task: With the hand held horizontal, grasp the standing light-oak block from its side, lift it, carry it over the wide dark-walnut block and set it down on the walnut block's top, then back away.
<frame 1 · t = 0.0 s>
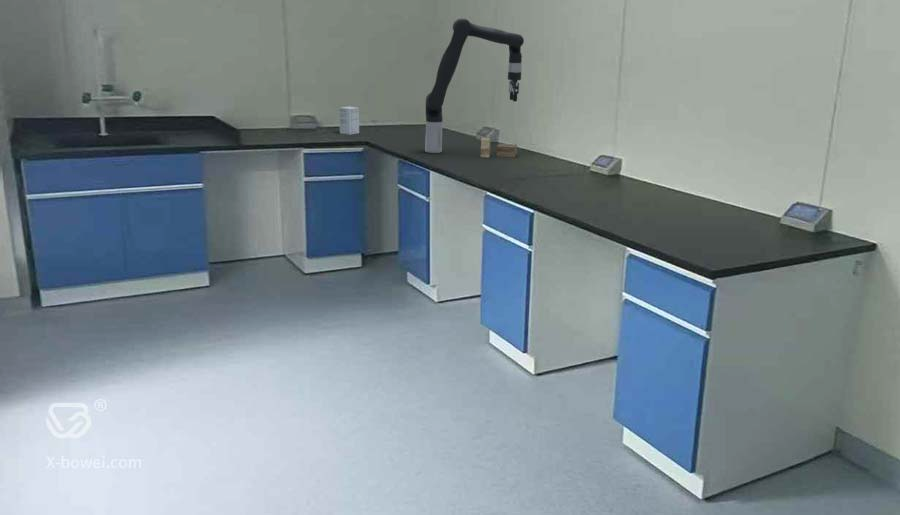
hand: (513, 100, 418), 29 cm above the counter, fingers open, 8 cm apart
oak block: (485, 156, 409), on the counter
walnut base: (506, 155, 415), on the counter
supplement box: (349, 133, 484), on the counter
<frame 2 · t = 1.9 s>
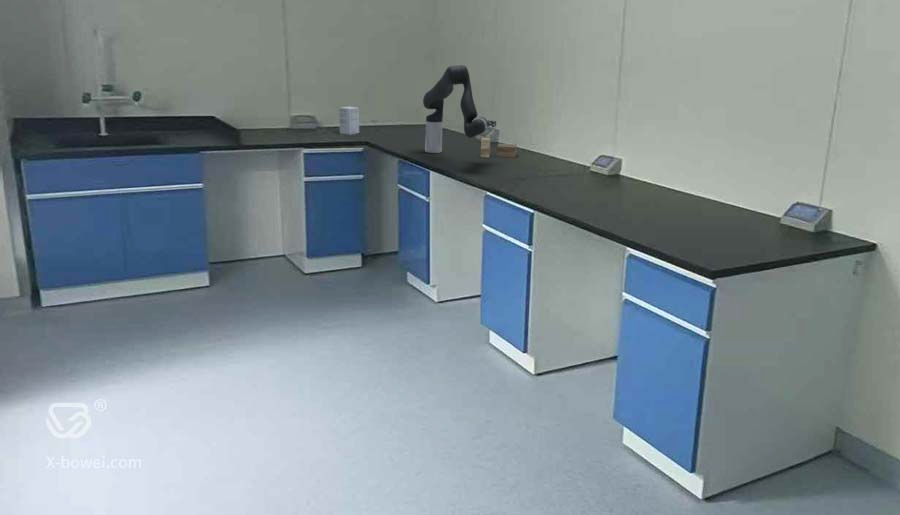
hand: (484, 122, 393), 20 cm above the counter, fingers open, 8 cm apart
nothing on the counter moved.
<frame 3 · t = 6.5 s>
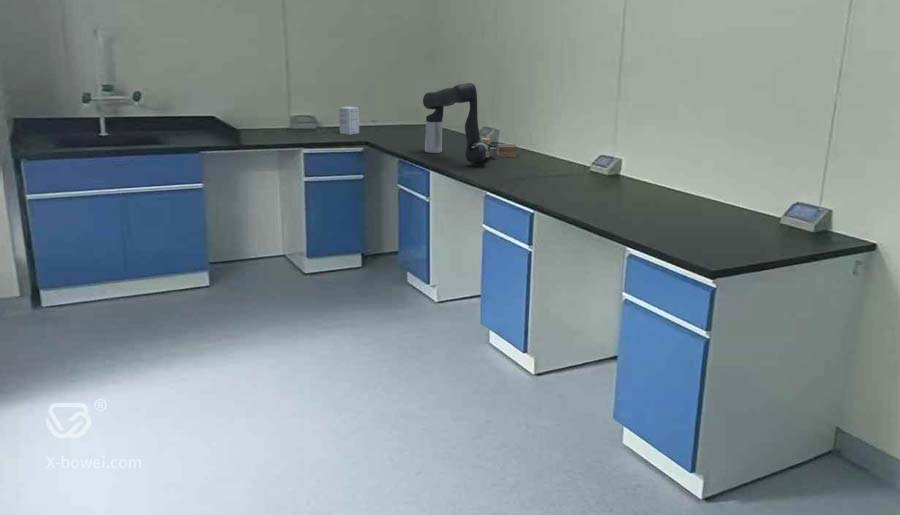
hand: (486, 145, 410), 6 cm above the counter, fingers closed on oak block, 4 cm apart
oak block: (485, 156, 409), on the counter, touching gripper
when the fingers open (14 cm above the counter, at t = 12.7 s): oak block drops 2 cm, resting on walnut base.
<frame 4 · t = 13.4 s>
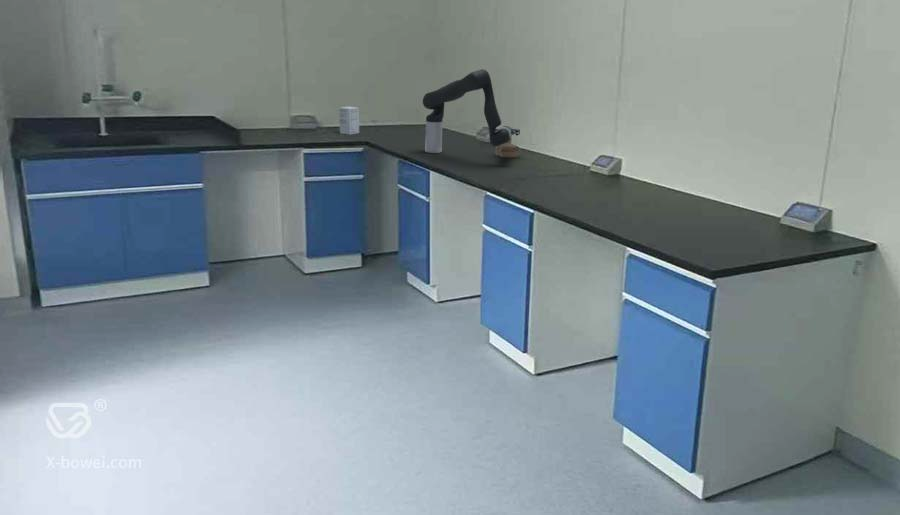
hand: (508, 130, 413), 14 cm above the counter, fingers open, 8 cm apart
oak block: (506, 145, 413), point 6 cm above the counter, touching walnut base
walnut base: (506, 156, 415), on the counter, touching oak block
everything else where it was.
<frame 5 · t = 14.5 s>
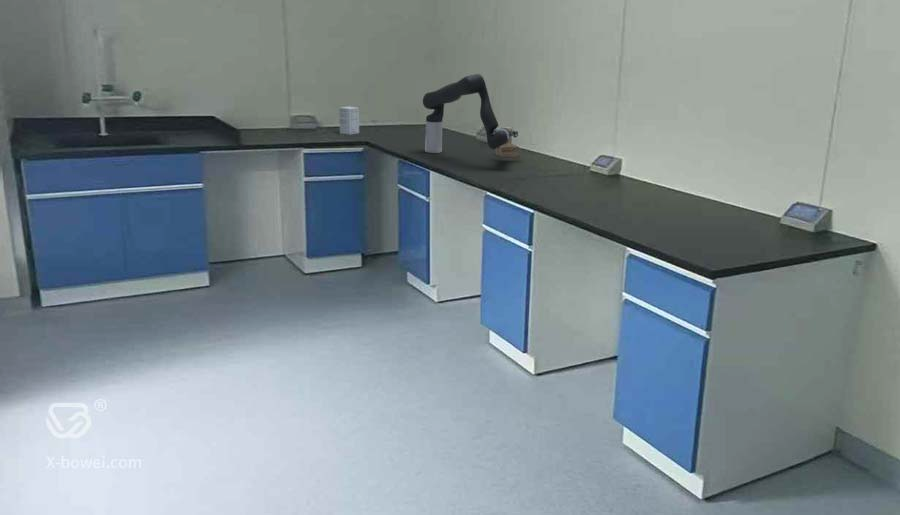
hand: (506, 132, 403), 14 cm above the counter, fingers open, 8 cm apart
nothing on the counter moved.
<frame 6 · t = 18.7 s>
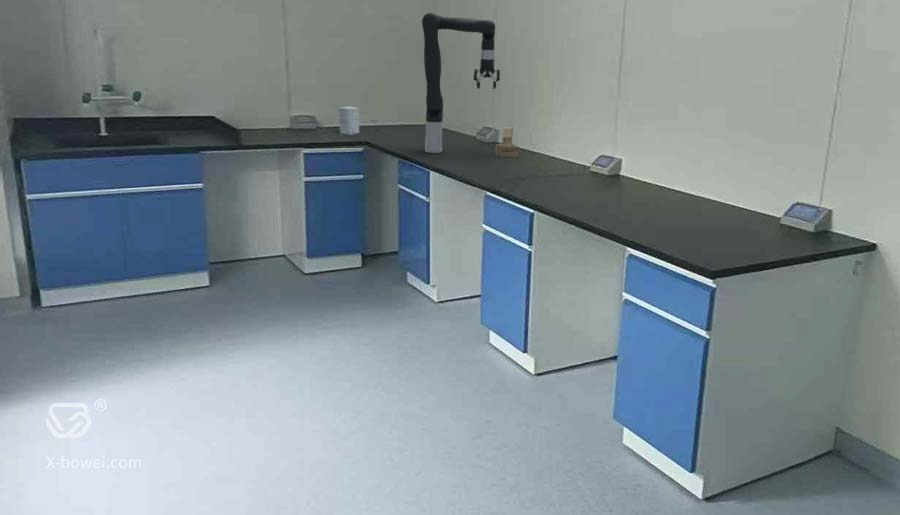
hand: (486, 88, 408), 36 cm above the counter, fingers open, 8 cm apart
nothing on the counter moved.
at the end: oak block inside the target area on the walnut base (0.4 cm from its centre), point 6.1 cm above the walnut base's base; oak block tilted 1°; the gripper is holding nothing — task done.
